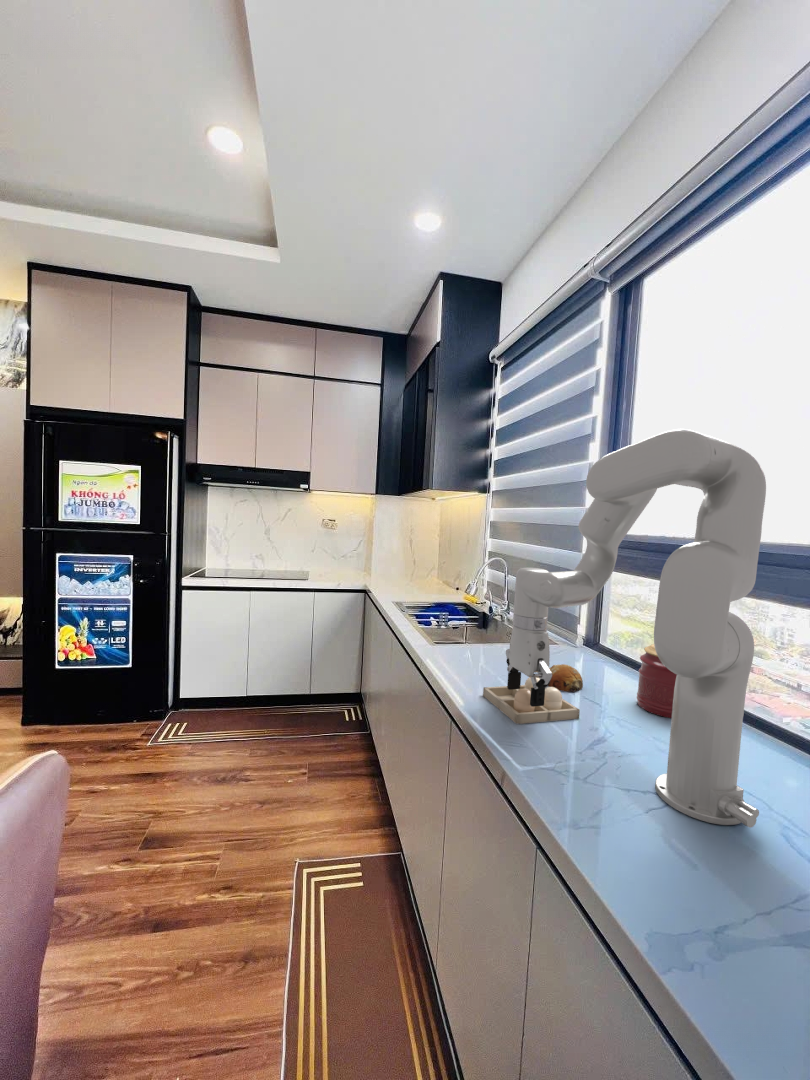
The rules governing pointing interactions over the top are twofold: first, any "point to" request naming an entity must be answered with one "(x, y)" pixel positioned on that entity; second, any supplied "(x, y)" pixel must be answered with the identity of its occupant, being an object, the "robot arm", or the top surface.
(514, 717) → the egg tray
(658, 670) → the canister
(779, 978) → the top surface
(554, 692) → the pale egg
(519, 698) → the brown egg
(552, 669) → the bread roll
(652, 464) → the robot arm
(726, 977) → the top surface
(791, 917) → the top surface
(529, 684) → the pale egg
